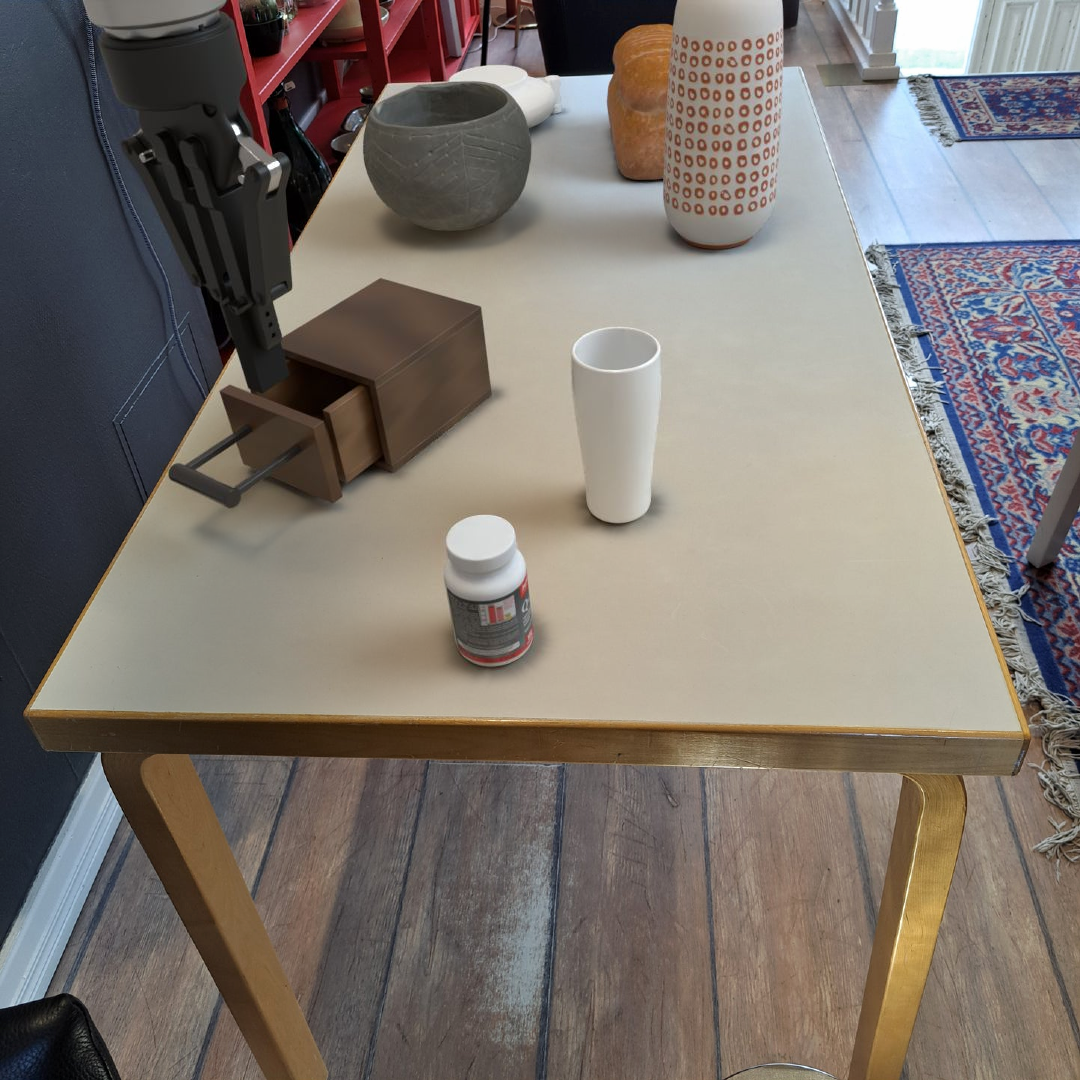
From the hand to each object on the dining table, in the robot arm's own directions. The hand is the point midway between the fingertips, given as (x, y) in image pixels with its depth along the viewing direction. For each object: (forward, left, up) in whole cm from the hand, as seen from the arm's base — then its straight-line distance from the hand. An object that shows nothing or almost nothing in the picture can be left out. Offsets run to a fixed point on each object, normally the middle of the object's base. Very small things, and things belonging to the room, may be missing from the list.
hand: (269, 381), depth 70 cm
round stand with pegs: (+26, +99, -16) cm, 104 cm away
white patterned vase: (+48, +48, -16) cm, 70 cm away
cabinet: (+7, +18, -16) cm, 25 cm away
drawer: (-1, +10, -15) cm, 18 cm away
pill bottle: (+13, -14, -16) cm, 25 cm away
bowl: (+17, +62, -16) cm, 67 cm away
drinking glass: (+25, -1, -16) cm, 30 cm away
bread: (+48, +79, -16) cm, 94 cm away
